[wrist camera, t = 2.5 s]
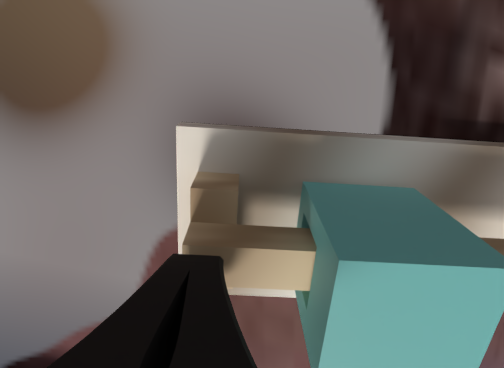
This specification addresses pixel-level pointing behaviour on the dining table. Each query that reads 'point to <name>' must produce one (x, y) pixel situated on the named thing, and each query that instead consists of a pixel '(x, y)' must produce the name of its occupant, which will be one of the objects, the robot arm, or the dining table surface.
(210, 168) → the rail
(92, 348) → the robot arm
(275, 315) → the dining table surface
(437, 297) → the slider
